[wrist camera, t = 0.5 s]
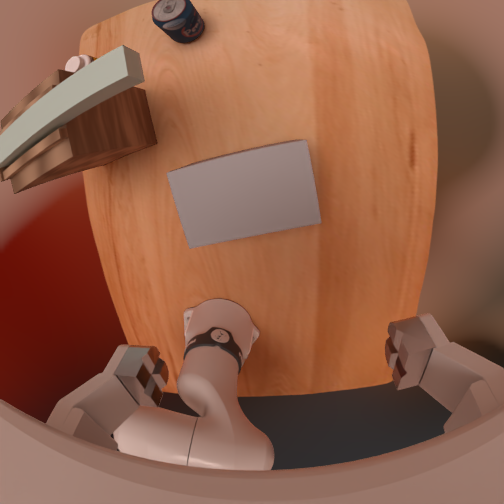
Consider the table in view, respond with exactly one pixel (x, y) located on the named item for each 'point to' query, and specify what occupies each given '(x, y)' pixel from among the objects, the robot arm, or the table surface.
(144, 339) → the table surface
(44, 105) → the batten
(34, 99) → the stand
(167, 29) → the soda can
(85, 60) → the supplement bottle
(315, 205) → the block
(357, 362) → the table surface
